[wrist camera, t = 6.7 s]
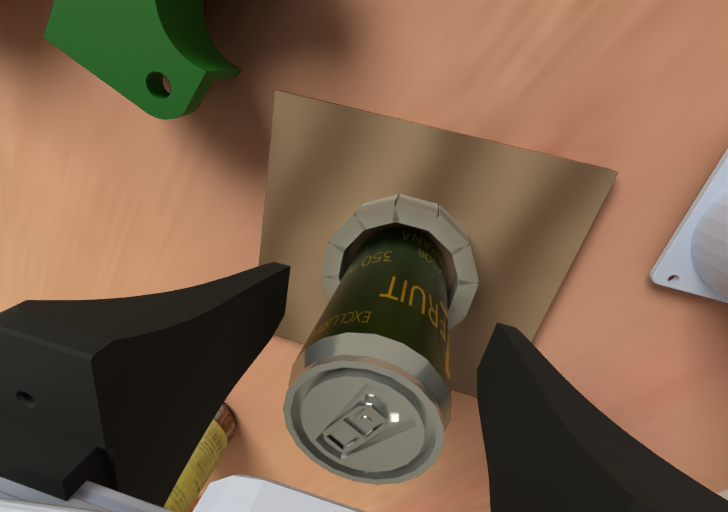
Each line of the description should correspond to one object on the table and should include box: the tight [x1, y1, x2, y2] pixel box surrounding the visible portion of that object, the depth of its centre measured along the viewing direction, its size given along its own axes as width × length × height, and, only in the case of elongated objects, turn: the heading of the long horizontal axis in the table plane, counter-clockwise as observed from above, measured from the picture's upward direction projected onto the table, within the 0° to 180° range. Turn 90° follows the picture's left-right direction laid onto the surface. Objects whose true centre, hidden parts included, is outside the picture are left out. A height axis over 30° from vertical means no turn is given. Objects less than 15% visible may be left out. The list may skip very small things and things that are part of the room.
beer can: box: [283, 228, 451, 485], centre depth 16 cm, size 5×5×12 cm
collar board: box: [259, 90, 618, 397], centre depth 21 cm, size 18×16×3 cm
